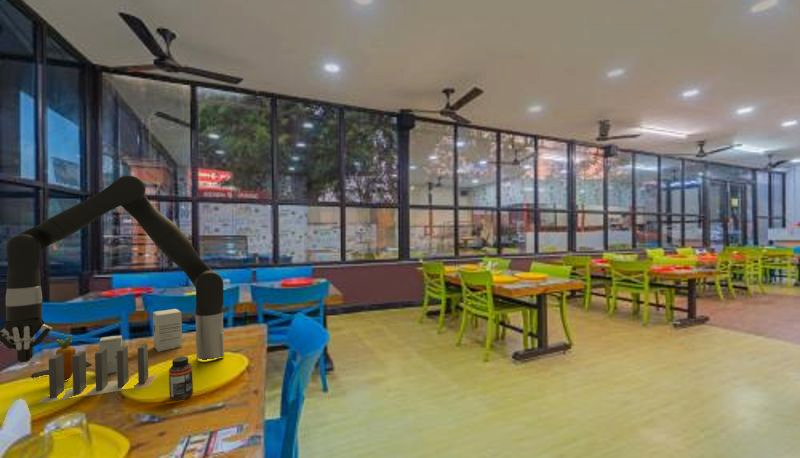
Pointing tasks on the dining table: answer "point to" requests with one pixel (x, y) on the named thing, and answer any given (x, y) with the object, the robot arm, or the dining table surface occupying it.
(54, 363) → the domino far
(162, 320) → the supplement box
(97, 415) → the dining table surface
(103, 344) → the skincare box
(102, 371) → the domino
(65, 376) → the carrot
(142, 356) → the domino
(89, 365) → the phone
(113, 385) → the domino mat
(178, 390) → the supplement bottle
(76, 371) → the domino
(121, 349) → the domino
